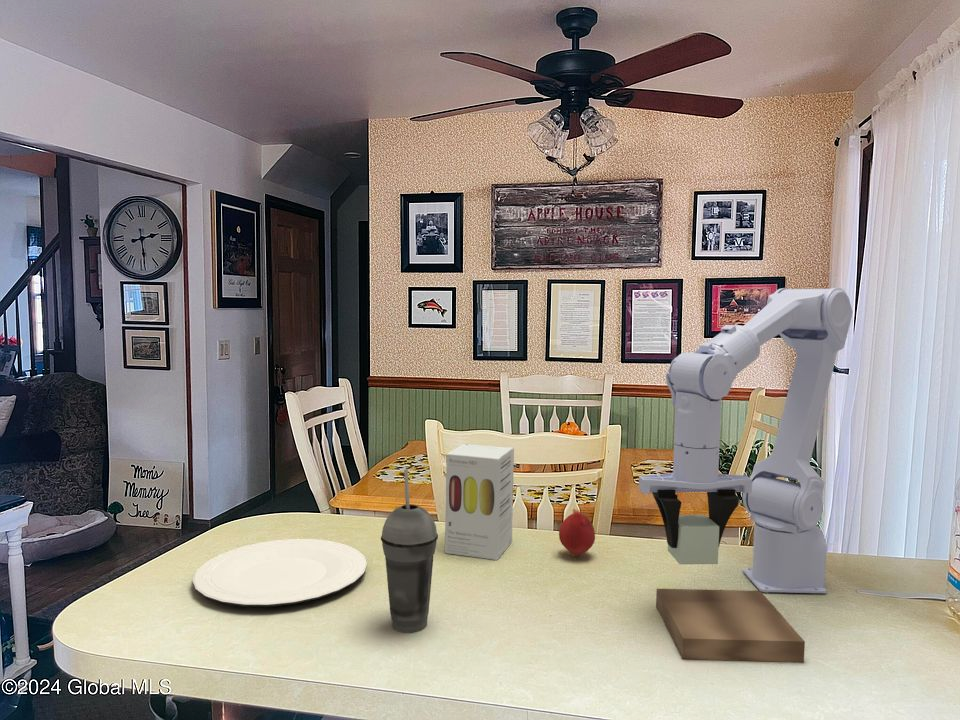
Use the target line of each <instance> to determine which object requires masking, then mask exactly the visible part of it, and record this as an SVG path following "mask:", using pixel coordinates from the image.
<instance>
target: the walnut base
mask: <svg viewBox="0 0 960 720" xmlns="http://www.w3.org/2000/svg"><path fill="white" fill-rule="evenodd" d="M655 596H656V598H655V607H656V609H657V611H658V613H659V615H660V617H661V618H662V621H663V623H664V624H665V625H664V626H666V630H667V631H668V633H669V635H670V637H671V639H672V641H673V643H674V646H675V647H676V649H677V652H678V653H679V655H680V657H681V659H682V660H701V661H702V660H703V661H705V660H706V661H709V660H710V661H747V662H778V663H779V662H781V663H782V662H783V663H784V662H786V663H787V662H788V663H804V662H805V648H806V647H805V645H806V643H805V640H804V638H803V637H802V636H801V635H800V634H799V633H798V632H797V630H796V629H794V628H793V626H792V625H791V624H790V623H789V621H788V620H786V618H785V617H784V616H783V615H782V614H781V613H780V612H779V610H778V609H777V608H776V607H775V606H774V604H772V603H771V601H770V600H769V599H768V598H767V597H766V596H765V595H764V592H762V591H760V590H744V589H743V590H742V589H741V590H739V589H738V590H735V589H693V588H692V589H691V588H687V589H686V588H656V595H655Z"/></svg>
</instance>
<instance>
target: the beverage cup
mask: <svg viewBox="0 0 960 720" xmlns="http://www.w3.org/2000/svg"><path fill="white" fill-rule="evenodd" d="M403 472H404V473H403V474H404V478H403V479H404V492H405V493H404V498H405V499H404V500H405V504H403V505H401V506H398V507H397V508H395V509H393V510H392V511H391V512H390V513H389V514H388V516H387V517H386V519H385V521H384V524H383V527H382V531H381V536H380V540H381V543H382V544H381V545H382V551H383V554H384V557H385V558H384V559H385V569H386V571H385V572H386V580H387V581H386V583H387V591H388V601H389V602H388V603H389V614H390V618H391V626H392V629H394V630H395V631H398V632H401V633H409V634H411V633H416V632H417V633H418V632H419V631H422V630H424V629H425V628H426V627H428V618H429V617H428V615H429V611H430V599H431V589H432V578H433V567H434V565H433V564H434V555H435V553H436V547H437V542H438V541H437V540H438V538H439V534H438V532H437V531H438V530H437V526H436V522H435V520H434V518H433V516H432V515H431V514H430V513H429V512H428V511H427V510H426V508H424V507H421V506H420V505H417V504H411V503H410V488H409V469H403Z"/></svg>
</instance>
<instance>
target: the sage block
mask: <svg viewBox="0 0 960 720" xmlns="http://www.w3.org/2000/svg"><path fill="white" fill-rule="evenodd" d="M719 548H720V545H719V526H718V525H717V524H716V523H714V522H713V521H712V520H711V519H710V518H709V516H707V514H679V520H678V543H677V548H671V547H670V546H669V544H668V543H667V552H668V553H669V554H670V555H671V556H672V557H673V558H674V560H675V561H676V562H677V563H678V565H718V564H719Z"/></svg>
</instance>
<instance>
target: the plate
mask: <svg viewBox="0 0 960 720" xmlns="http://www.w3.org/2000/svg"><path fill="white" fill-rule="evenodd" d="M367 567H368V562H367V559H366V556H365V555H364V554H362V553H361V552H360V551H359V550H358V549H356V548H354V547H351V546H350V545H347V544H344V543H340V542H336V541H332V540H325V539H315V538H288V539H277V540H276V539H275V540H269V541H262V542H256V543H252V544H247V545H244V546H241V547H240V546H239V547H237V548H234V549H230V550H228V551H226V552H222V553H221V554H218V555H216V556H215V557H212V558H211V559H209V560H207V561H206V562H204V563H203V564H202V565H200V567H198V569H197V570H196V571H194V575H193V577H192V581H191V582H192V585H193V586H194V589H195V591H196V592H197V593H199V594H201V595H202V596H203V597H204V598H206V599H209V600H212V601H216V602H218V603H220V604H227V605H234V606H239V607H240V606H241V607H276V606H277V607H278V606H284V605H295V604H299V603H304V602H308V601H313V600H318V599H321V598H324V597H327V596H330V595H333V594H336V593H339V592H341V591H342V590H344V589H346V588H348V587H349V586H352V585H353V584H355V583H356V582H357V581H358V580H359V579H360V578H362V576H363V575H364V574H365V571H366V569H367Z"/></svg>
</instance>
